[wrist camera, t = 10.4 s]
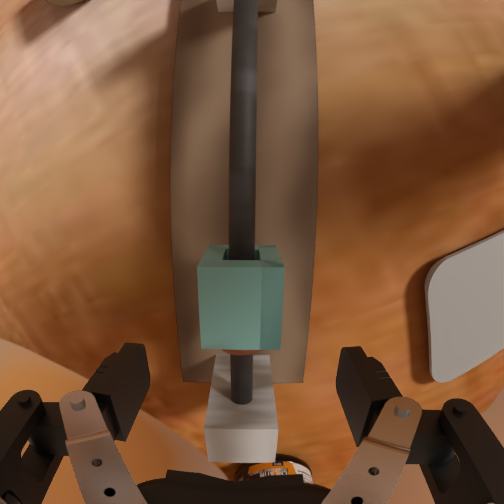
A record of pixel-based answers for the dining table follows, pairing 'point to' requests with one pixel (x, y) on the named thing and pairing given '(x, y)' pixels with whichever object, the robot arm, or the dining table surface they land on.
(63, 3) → the ceramic mug
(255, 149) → the stand
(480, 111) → the dining table surface
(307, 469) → the supplement container
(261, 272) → the sleeve
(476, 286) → the tablet
